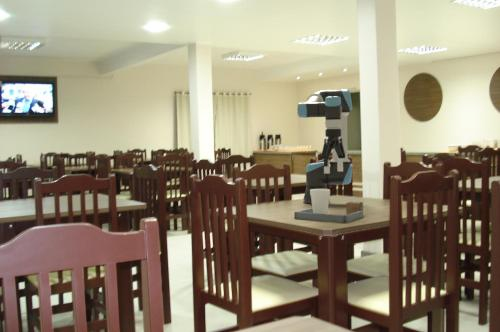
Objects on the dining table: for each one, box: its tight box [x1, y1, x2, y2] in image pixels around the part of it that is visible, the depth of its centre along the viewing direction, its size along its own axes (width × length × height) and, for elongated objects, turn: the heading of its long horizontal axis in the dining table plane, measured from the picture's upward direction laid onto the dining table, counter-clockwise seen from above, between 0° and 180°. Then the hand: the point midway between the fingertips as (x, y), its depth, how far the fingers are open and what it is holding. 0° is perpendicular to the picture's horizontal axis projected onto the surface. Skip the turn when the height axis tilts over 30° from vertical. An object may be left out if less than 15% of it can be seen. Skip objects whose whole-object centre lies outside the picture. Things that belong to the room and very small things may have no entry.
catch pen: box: [293, 207, 364, 224], centre depth 255 cm, size 19×26×3 cm
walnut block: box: [345, 201, 364, 215], centre depth 264 cm, size 6×6×6 cm
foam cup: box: [310, 188, 331, 214], centre depth 258 cm, size 10×9×13 cm
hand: (333, 172), depth 262 cm, fingers open, 13 cm apart
